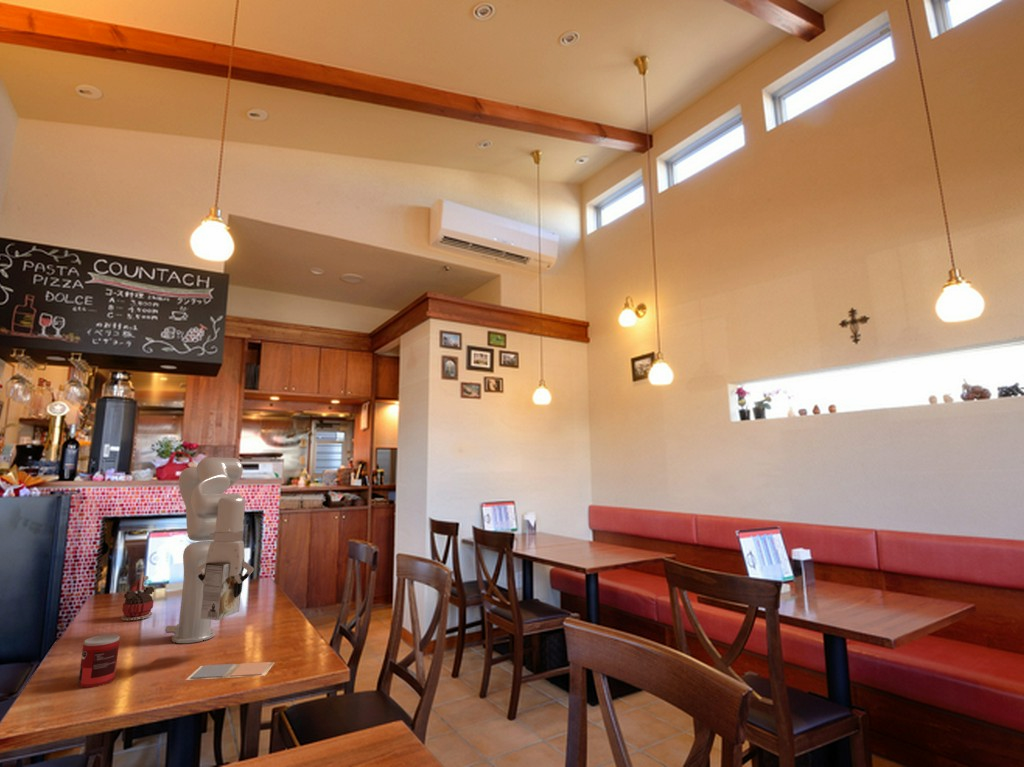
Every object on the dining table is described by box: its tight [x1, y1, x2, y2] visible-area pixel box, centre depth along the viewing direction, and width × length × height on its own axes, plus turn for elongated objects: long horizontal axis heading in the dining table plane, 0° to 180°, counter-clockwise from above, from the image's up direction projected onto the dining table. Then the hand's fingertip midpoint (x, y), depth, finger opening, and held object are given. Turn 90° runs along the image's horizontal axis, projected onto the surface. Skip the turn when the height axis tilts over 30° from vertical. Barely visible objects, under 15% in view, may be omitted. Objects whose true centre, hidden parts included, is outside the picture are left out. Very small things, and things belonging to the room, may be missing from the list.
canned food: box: [78, 633, 121, 688], centre depth 140 cm, size 8×8×11 cm
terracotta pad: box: [230, 661, 271, 678], centre depth 146 cm, size 8×9×1 cm
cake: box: [120, 568, 155, 621], centre depth 200 cm, size 11×9×18 cm
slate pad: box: [190, 663, 235, 680], centre depth 144 cm, size 8×9×1 cm
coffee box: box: [201, 563, 244, 621], centre depth 158 cm, size 9×6×16 cm
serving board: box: [185, 661, 276, 681], centre depth 145 cm, size 20×10×1 cm, turn 100°
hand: (222, 596), depth 158 cm, fingers closed on coffee box, 7 cm apart
